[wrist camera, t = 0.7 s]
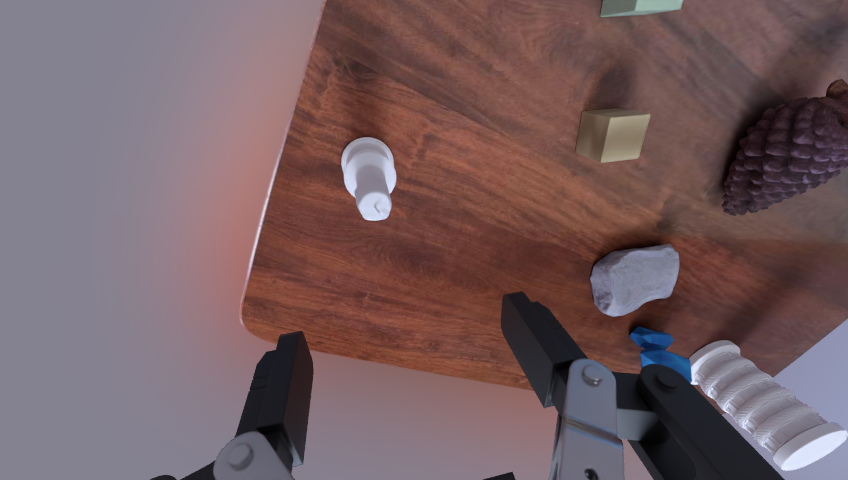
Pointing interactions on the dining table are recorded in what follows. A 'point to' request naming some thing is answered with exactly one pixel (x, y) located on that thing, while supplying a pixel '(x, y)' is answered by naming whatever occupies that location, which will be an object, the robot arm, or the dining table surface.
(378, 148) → the candle
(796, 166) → the pine cone
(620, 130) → the block
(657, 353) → the crystal
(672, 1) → the block
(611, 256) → the stone block
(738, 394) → the decorative container
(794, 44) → the dining table surface
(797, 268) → the dining table surface
